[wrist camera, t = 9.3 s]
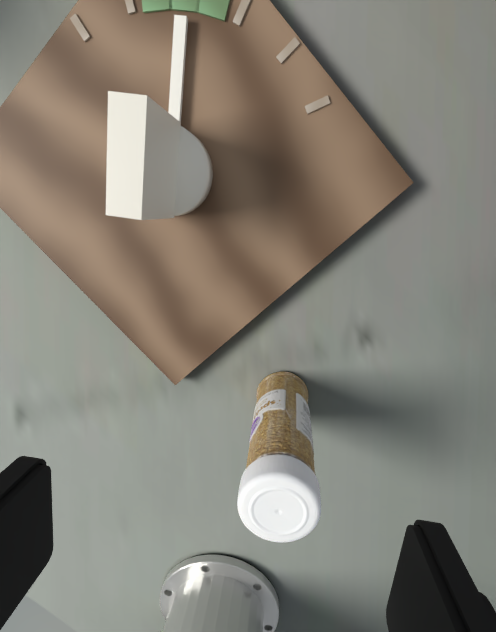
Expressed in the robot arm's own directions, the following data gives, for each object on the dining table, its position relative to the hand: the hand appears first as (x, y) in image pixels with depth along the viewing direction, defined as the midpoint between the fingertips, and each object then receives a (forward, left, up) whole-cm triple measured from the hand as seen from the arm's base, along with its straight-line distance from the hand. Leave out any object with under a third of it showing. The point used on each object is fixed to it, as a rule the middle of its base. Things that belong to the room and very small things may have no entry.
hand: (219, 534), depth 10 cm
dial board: (+2, +13, -22) cm, 26 cm away
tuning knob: (+5, +15, -20) cm, 26 cm away
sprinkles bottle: (-4, -6, -22) cm, 24 cm away
